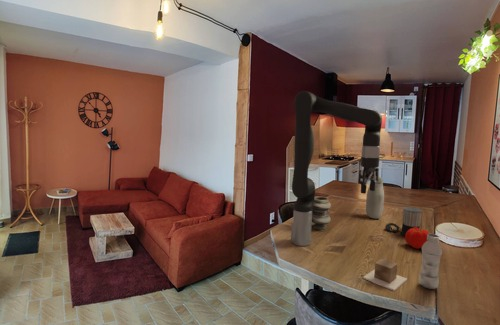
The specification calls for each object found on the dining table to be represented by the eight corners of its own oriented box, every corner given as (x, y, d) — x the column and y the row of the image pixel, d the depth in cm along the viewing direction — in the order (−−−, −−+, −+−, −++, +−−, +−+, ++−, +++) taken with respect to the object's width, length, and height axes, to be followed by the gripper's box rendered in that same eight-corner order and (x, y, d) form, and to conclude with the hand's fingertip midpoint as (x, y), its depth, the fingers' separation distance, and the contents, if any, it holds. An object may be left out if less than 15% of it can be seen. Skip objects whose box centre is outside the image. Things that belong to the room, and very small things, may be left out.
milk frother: (423, 238, 160) (425, 211, 158) (393, 237, 161) (395, 210, 159) (410, 229, 174) (412, 204, 173) (382, 228, 175) (384, 203, 173)
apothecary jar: (307, 230, 170) (309, 199, 167) (309, 223, 181) (311, 194, 179) (329, 232, 166) (331, 201, 164) (330, 225, 178) (332, 196, 175)
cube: (374, 277, 116) (375, 262, 116) (381, 272, 120) (382, 258, 120) (389, 283, 112) (391, 268, 111) (396, 278, 116) (397, 263, 115)
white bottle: (362, 216, 197) (365, 175, 193) (373, 215, 201) (376, 174, 198) (374, 221, 188) (377, 177, 184) (385, 219, 192) (388, 176, 189)
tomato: (435, 252, 142) (437, 234, 141) (408, 250, 145) (409, 232, 144) (426, 243, 153) (428, 227, 152) (401, 241, 155) (403, 225, 154)
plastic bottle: (430, 281, 115) (435, 232, 112) (442, 291, 108) (448, 239, 106) (414, 281, 115) (418, 232, 112) (425, 291, 108) (430, 239, 106)
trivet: (363, 278, 117) (363, 276, 117) (376, 268, 125) (376, 267, 125) (394, 291, 108) (394, 289, 108) (407, 280, 116) (407, 278, 116)
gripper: (369, 154, 139) (367, 188, 141) (354, 156, 130) (352, 192, 132) (385, 156, 134) (382, 191, 136) (371, 158, 124) (368, 195, 126)
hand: (367, 191), depth 134 cm, fingers open, 8 cm apart
